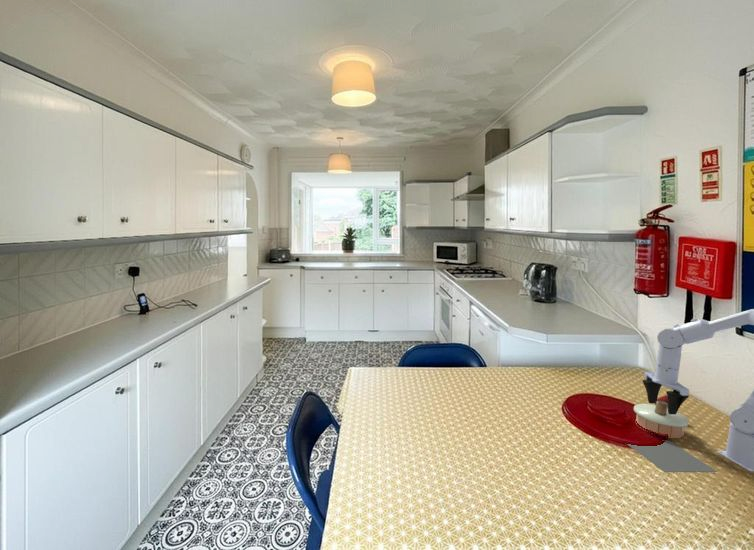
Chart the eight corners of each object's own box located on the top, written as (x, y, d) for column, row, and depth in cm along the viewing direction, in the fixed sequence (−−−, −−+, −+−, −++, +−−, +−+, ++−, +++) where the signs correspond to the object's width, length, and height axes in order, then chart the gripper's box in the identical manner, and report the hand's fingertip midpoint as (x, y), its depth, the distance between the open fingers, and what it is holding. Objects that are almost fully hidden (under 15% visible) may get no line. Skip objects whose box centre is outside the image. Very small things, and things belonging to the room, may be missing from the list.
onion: (678, 421, 129) (681, 398, 128) (659, 419, 130) (662, 396, 129) (669, 414, 135) (672, 391, 134) (650, 411, 136) (653, 389, 135)
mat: (717, 473, 100) (717, 471, 100) (664, 473, 98) (664, 471, 98) (668, 442, 115) (668, 440, 114) (621, 441, 113) (621, 440, 113)
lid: (700, 426, 116) (702, 412, 116) (660, 427, 114) (662, 413, 113) (659, 405, 130) (661, 393, 129) (623, 406, 127) (624, 393, 127)
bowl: (693, 439, 117) (695, 425, 117) (656, 439, 116) (658, 425, 115) (660, 420, 129) (662, 407, 128) (627, 420, 128) (628, 407, 127)
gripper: (637, 358, 127) (632, 398, 128) (676, 374, 113) (669, 419, 114) (657, 359, 128) (652, 398, 129) (698, 375, 113) (691, 419, 115)
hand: (661, 408), depth 122 cm, fingers open, 7 cm apart
